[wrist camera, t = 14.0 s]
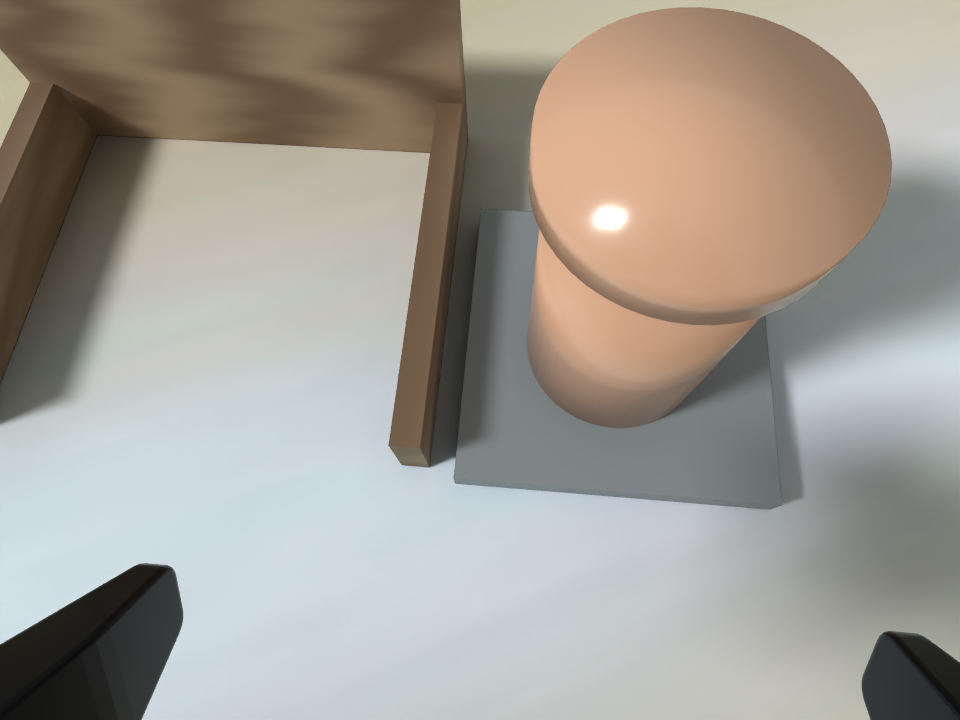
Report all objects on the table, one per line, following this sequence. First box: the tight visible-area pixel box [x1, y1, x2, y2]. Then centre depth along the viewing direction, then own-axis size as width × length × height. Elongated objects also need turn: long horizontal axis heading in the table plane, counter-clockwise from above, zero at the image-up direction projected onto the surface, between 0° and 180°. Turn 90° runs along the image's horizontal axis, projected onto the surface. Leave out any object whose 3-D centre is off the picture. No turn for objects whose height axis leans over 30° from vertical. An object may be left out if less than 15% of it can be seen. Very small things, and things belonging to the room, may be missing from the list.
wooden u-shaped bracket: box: [0, 0, 468, 467], centre depth 22 cm, size 18×15×8 cm
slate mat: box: [454, 209, 782, 509], centre depth 23 cm, size 11×11×1 cm
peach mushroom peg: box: [527, 8, 892, 428], centre depth 18 cm, size 7×7×11 cm
